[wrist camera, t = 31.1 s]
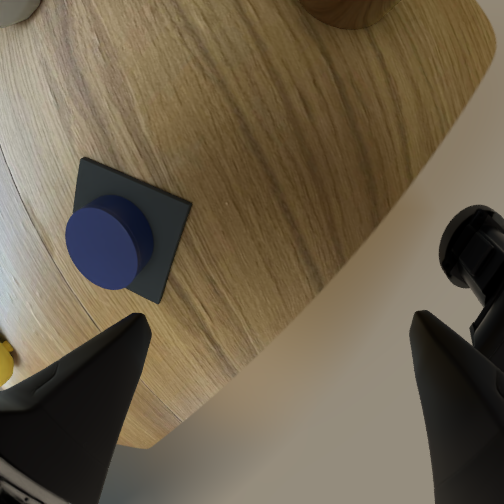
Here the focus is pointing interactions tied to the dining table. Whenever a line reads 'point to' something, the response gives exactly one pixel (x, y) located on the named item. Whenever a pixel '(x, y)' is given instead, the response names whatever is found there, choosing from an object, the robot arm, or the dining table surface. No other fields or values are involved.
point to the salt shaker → (16, 11)
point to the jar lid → (109, 241)
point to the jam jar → (349, 11)
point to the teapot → (5, 362)
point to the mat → (154, 209)
